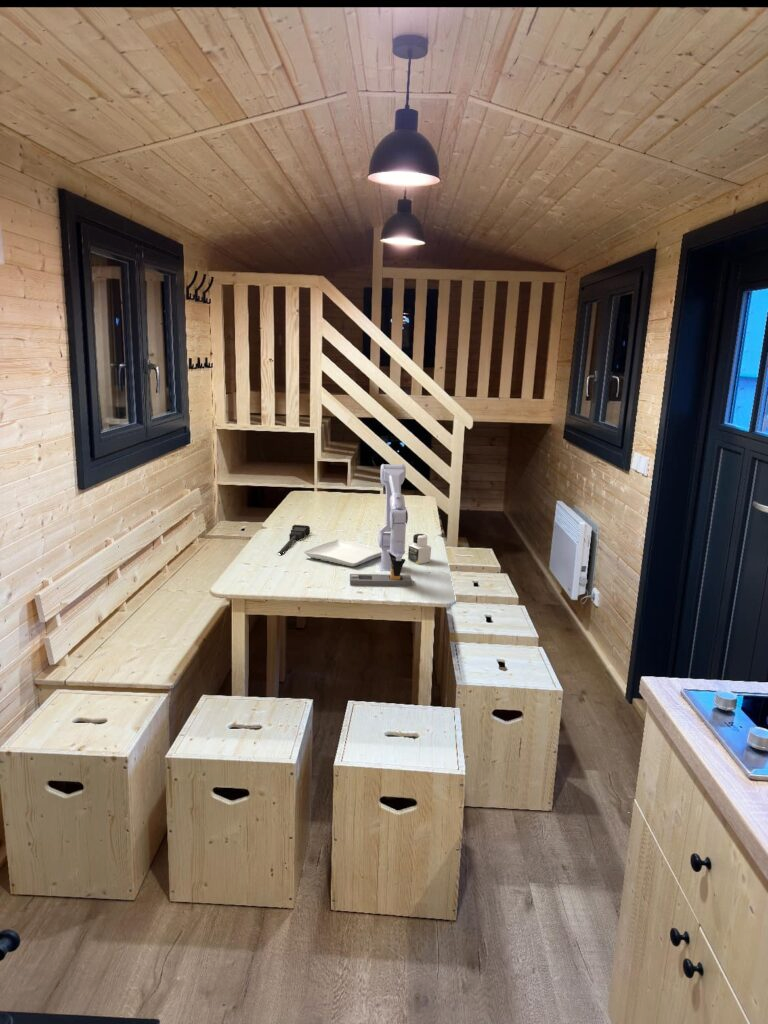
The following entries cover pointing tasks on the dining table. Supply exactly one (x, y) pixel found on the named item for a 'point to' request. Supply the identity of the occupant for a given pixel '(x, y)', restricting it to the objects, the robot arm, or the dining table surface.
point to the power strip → (379, 580)
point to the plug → (393, 574)
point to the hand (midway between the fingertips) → (396, 573)
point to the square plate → (344, 552)
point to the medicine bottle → (419, 550)
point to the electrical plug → (296, 535)
